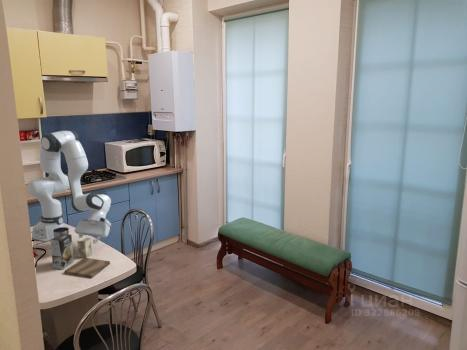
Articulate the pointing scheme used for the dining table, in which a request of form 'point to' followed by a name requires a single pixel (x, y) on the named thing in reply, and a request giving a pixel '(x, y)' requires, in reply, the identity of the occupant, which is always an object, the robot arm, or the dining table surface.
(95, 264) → the walnut board
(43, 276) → the dining table surface
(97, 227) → the robot arm
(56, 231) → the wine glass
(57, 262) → the coffee box
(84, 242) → the maple block
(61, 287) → the dining table surface
